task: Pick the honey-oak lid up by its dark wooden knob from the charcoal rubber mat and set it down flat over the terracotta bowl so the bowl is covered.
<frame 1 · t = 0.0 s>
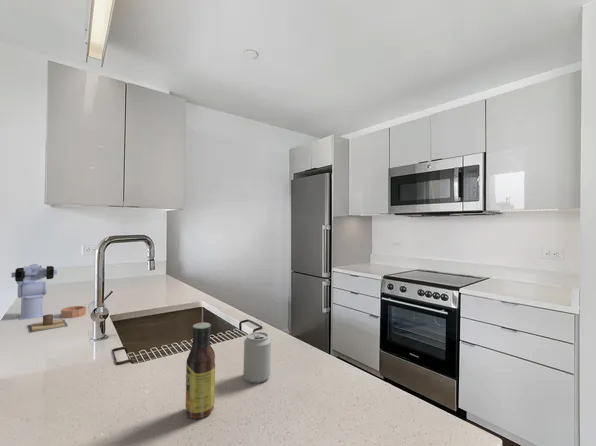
hand: (36, 274, 122), 22 cm above the countertop, tool horizontal, fingers open, 7 cm apart
lid: (47, 325, 123), resting on mat
bowl: (73, 316, 138), on the countertop
mat: (47, 326, 123), on the countertop
can: (256, 378, 84), on the countertop
sauce bottle: (199, 413, 68), on the countertop
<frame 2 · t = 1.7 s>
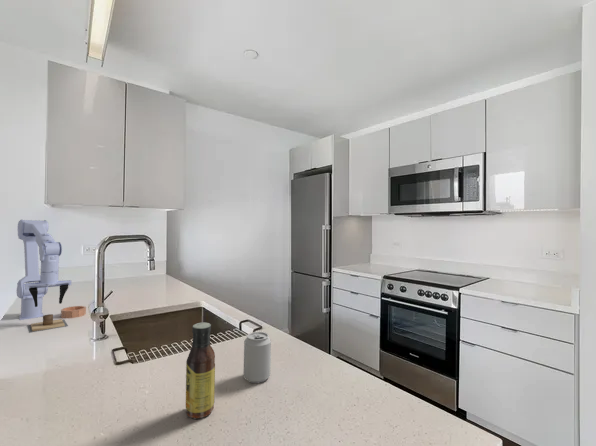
hand: (48, 304, 123), 9 cm above the countertop, tool pointing down, fingers open, 7 cm apart
nothing on the countertop moved.
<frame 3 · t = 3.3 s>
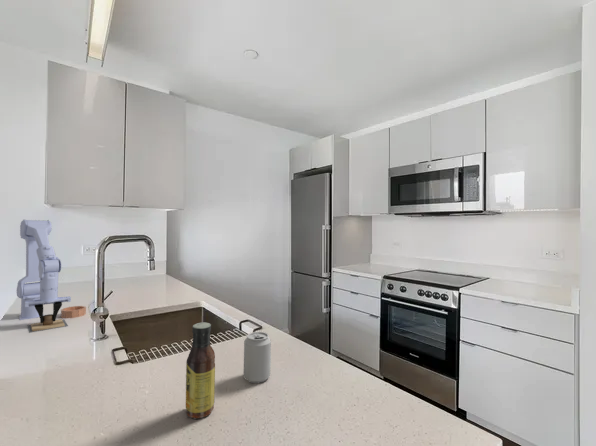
hand: (47, 321, 123), 2 cm above the countertop, tool pointing down, fingers closed on lid, 3 cm apart
lid: (47, 325, 123), resting on mat, touching gripper
everything else where it was.
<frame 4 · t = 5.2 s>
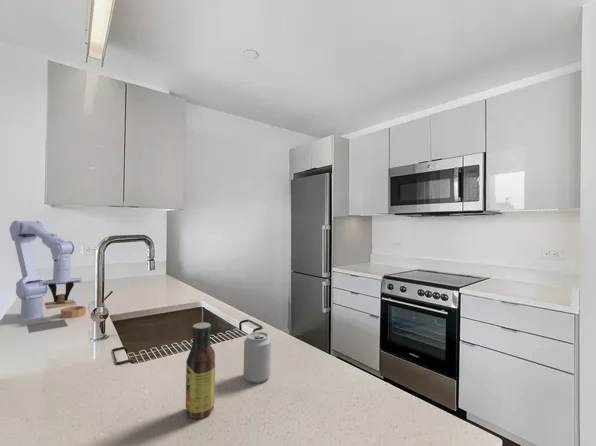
hand: (60, 300, 130), 9 cm above the countertop, tool pointing down, fingers closed on lid, 3 cm apart
lid: (60, 304, 130), point 7 cm above the countertop, touching gripper
everything else where it was.
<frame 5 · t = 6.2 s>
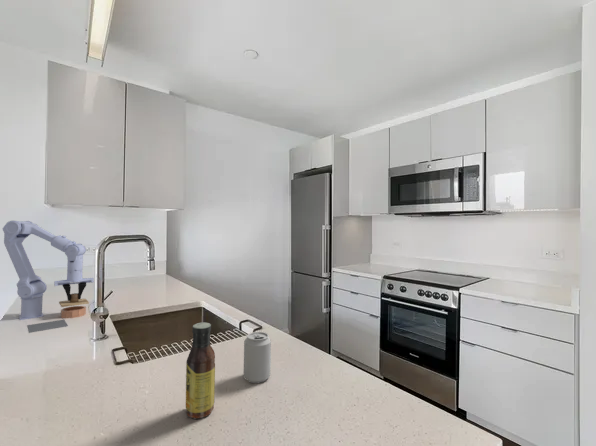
hand: (74, 299, 138), 8 cm above the countertop, tool pointing down, fingers closed on lid, 3 cm apart
lid: (73, 303, 138), point 6 cm above the countertop, touching gripper
everything else where it was.
when the fingers open (6 cm above the countertop, at t = 7.1 s): lid drops 1 cm, resting on bowl.
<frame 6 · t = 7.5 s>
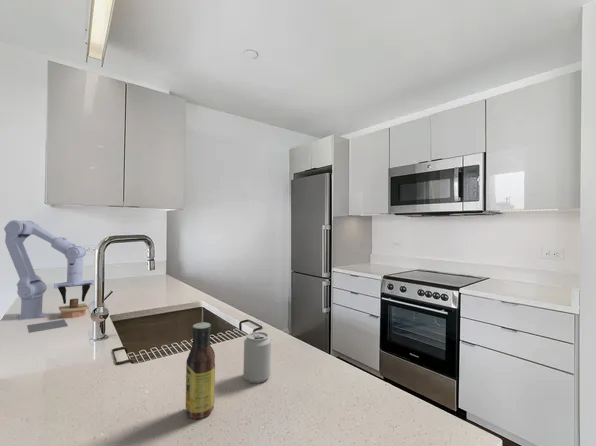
hand: (73, 302, 138), 6 cm above the countertop, tool pointing down, fingers open, 6 cm apart
lid: (73, 308, 138), point 3 cm above the countertop, touching bowl
everything else where it was.
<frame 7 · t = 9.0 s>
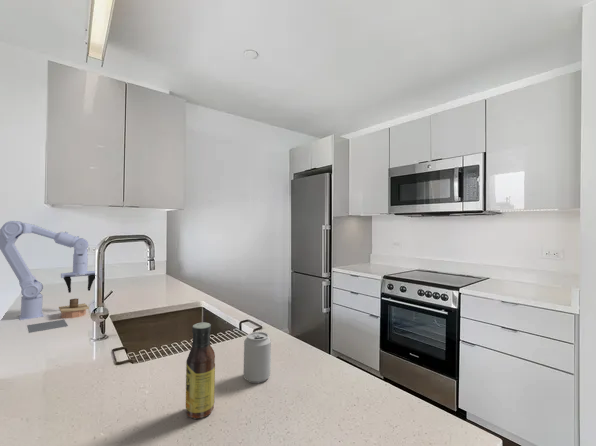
hand: (79, 291, 145), 10 cm above the countertop, tool pointing down, fingers open, 7 cm apart
nothing on the countertop moved.
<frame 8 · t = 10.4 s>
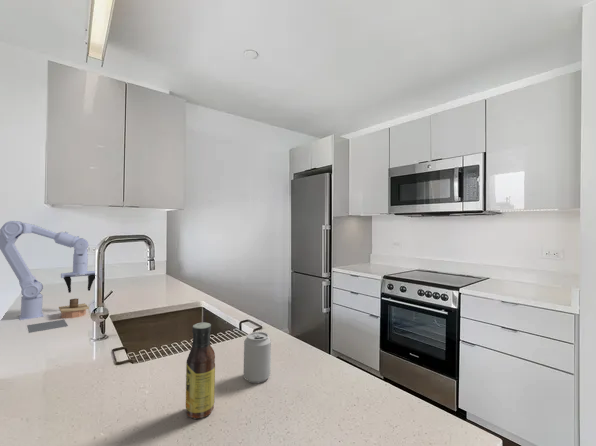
hand: (79, 291, 145), 10 cm above the countertop, tool pointing down, fingers open, 7 cm apart
nothing on the countertop moved.
at the end: lid 0.1 cm off-centre on the bowl, point 3.5 cm above the bowl's base; lid tilted 0°; the gripper is holding nothing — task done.
